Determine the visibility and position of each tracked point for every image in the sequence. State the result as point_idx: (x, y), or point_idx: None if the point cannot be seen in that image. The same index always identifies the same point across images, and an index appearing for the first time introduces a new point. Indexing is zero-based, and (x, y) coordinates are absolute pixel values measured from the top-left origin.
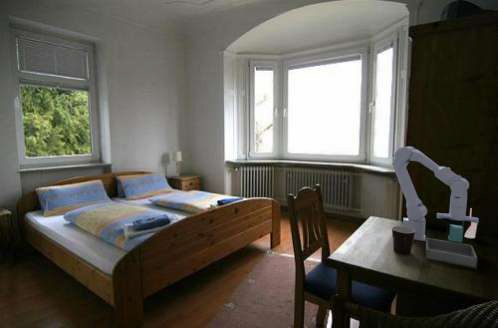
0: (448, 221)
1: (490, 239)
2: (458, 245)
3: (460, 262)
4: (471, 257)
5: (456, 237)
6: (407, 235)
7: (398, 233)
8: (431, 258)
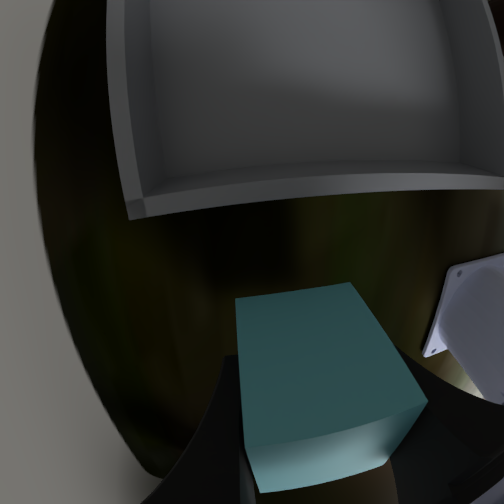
0: (498, 455)
1: (138, 450)
2: (269, 173)
3: None
4: None
5: (300, 322)
6: None
7: None
8: None
